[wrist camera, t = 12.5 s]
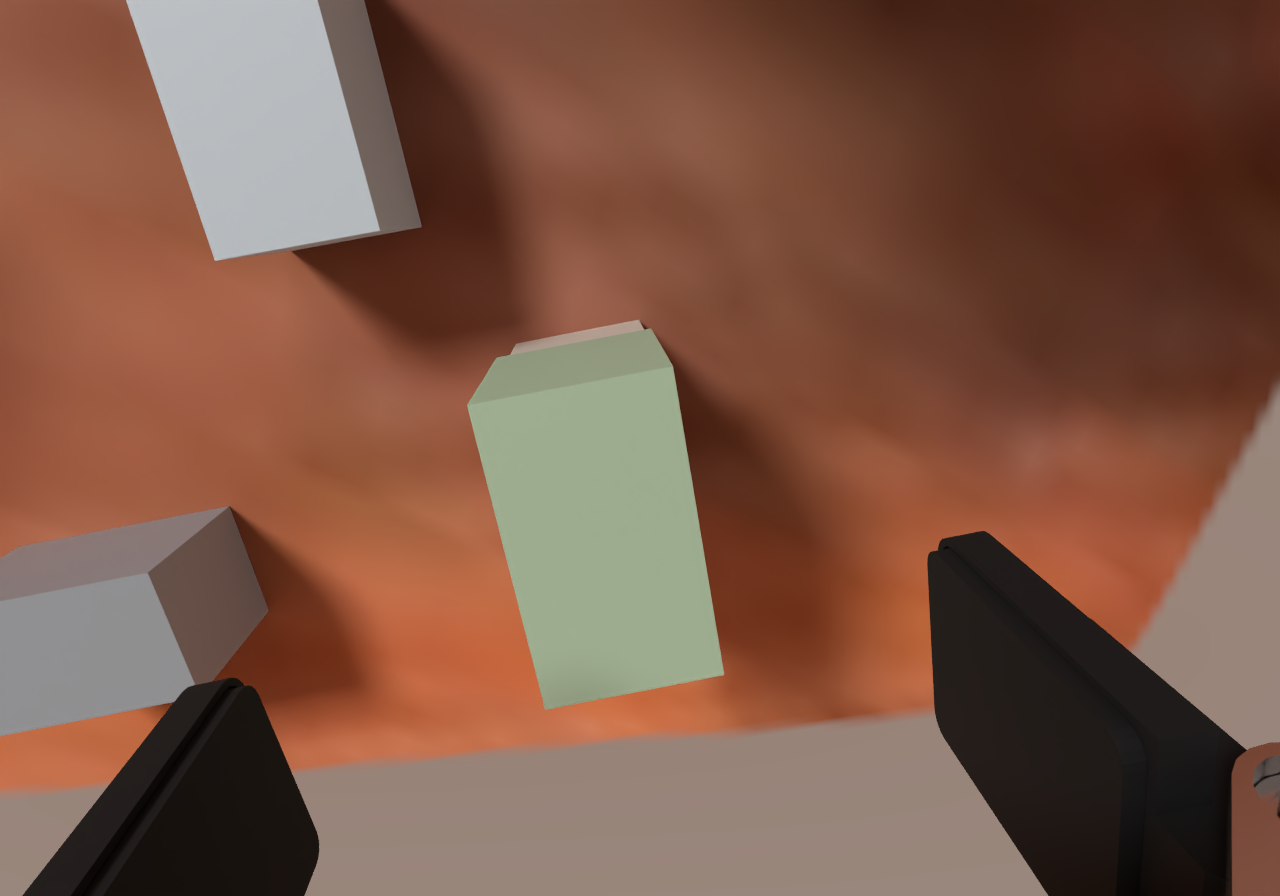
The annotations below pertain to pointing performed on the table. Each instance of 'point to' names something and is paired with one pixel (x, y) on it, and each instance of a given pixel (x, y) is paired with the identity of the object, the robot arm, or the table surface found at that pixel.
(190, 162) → the pale blue brick
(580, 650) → the sage brick
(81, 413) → the table surface
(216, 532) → the slate brick
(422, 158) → the table surface
